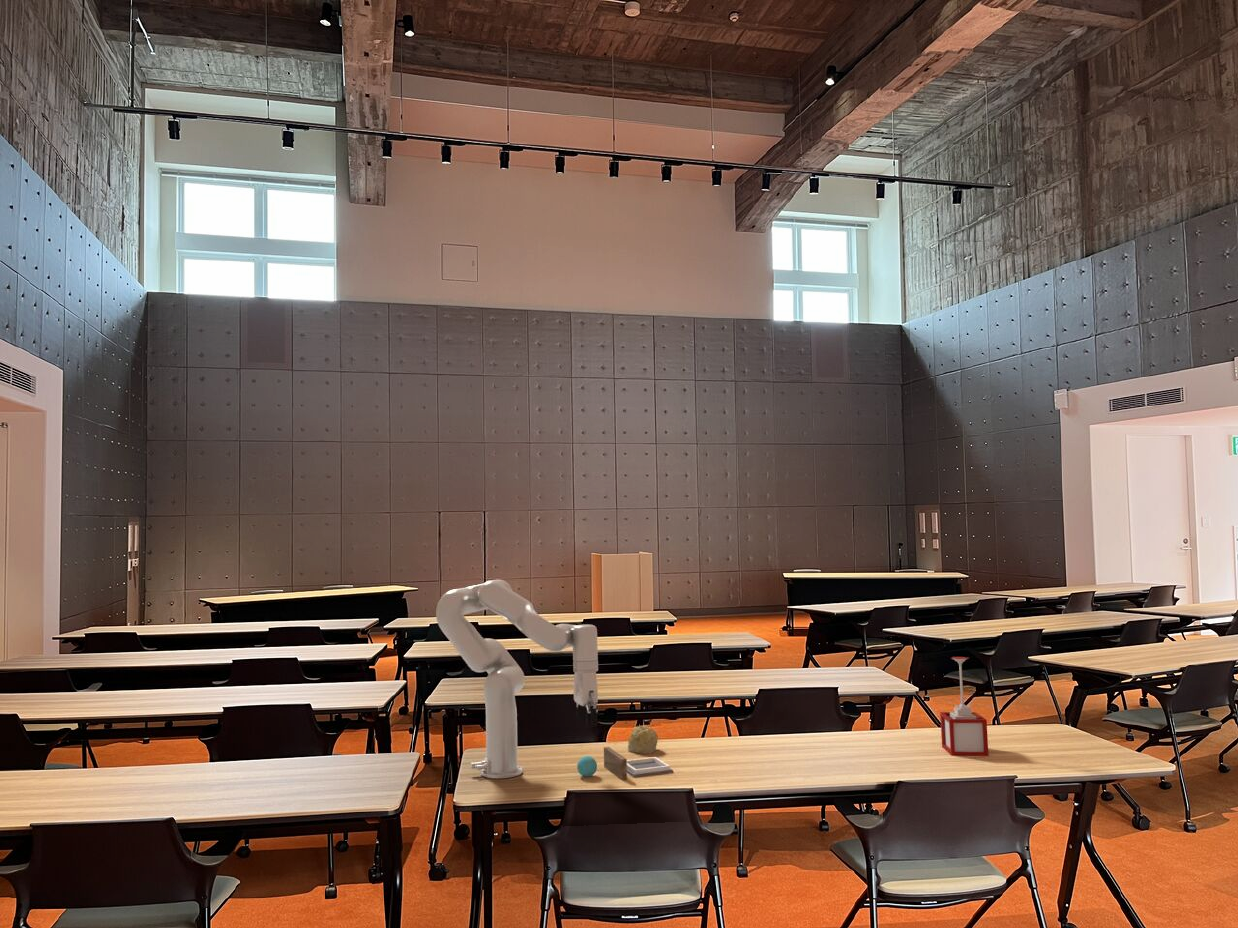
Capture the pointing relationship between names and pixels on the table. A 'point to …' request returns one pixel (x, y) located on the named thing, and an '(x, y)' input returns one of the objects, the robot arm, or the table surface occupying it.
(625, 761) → the low wall
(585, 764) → the ball
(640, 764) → the grey square tray
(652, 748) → the rock
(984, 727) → the pendant light
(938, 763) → the table surface
